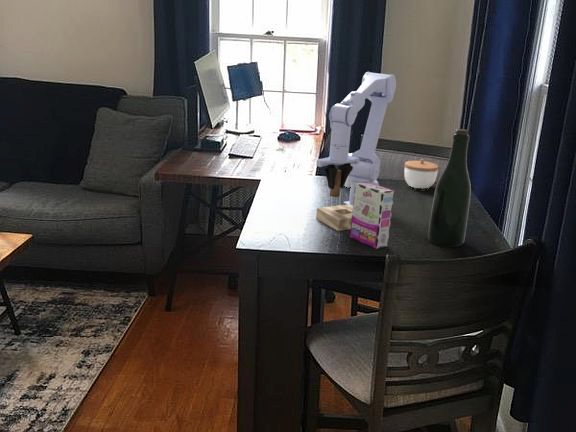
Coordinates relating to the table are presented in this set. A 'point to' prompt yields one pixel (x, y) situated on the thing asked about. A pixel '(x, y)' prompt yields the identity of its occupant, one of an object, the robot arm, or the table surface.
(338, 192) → the peg
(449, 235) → the beer bottle
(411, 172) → the lidded bowl
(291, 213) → the table surface
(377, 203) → the candy bar box
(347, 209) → the holder block
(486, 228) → the table surface
